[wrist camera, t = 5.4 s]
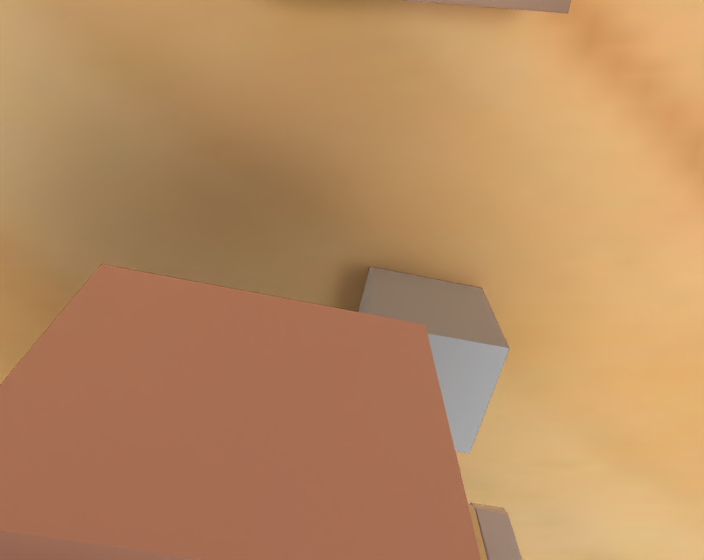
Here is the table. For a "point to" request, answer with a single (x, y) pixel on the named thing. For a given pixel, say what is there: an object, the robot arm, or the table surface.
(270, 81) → the table surface
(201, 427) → the terracotta cube
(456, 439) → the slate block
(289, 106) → the table surface
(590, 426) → the table surface
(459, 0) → the walnut base block
